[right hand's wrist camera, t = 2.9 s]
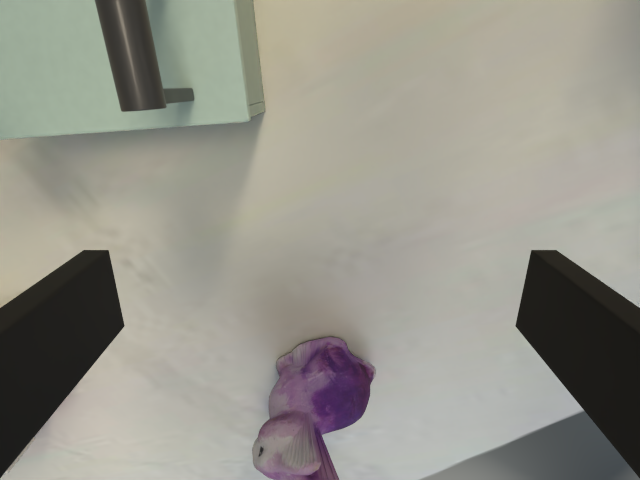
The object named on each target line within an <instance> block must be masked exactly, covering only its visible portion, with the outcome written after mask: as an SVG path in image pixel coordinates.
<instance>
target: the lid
mask: <svg viewBox="0 0 640 480" xmlns="http://www.w3.org/2000/svg"><path fill="white" fill-rule="evenodd" d="M249 121H251V114H250V106H249V99H248V91H247V83H246V75H245V67H244V59H243V51H242V43H241V35H240V27H239V19H238V11H237V4H236V0H0V140H4V139H18V138H32V137H46V136H60V135H74V134H88V133H102V132H116V131H130V130H144V129H158V128H172V127H186V126H200V125H213V124H227V123H241V122H249Z"/></svg>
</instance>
